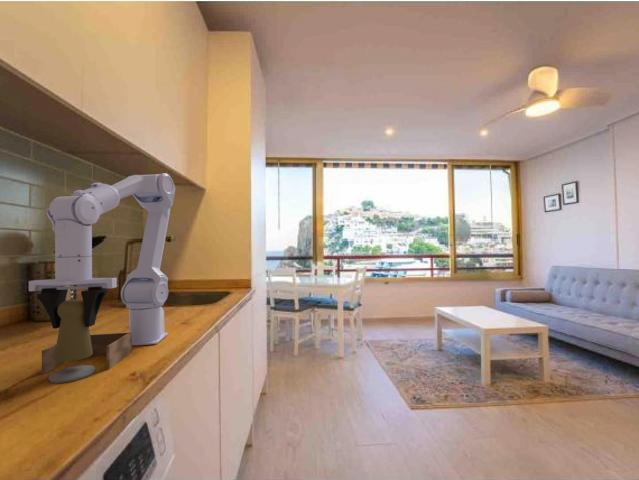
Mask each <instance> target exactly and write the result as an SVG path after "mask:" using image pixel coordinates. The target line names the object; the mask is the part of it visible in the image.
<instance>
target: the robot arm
mask: <svg viewBox="0 0 639 480" xmlns="http://www.w3.org/2000/svg"><path fill="white" fill-rule="evenodd" d="M174 183H175V182H174V181H173V179H172V177H171V175H170V174H169V173H166V172H165V173H163V172H162V173H157V174H156V173H155V174H152V173H151V174H133V175H128V176H127V177H126V178H124V179H122V180H120V181H118V182H116V183H114V184H112V185H110V184H107V183H102V182H94V183H91V184H90V186H91V187H89V188H86V189H84V190H83V189H77V190H73V194H71V195H70V196H67V195H66V196H64V195H63V196H58V197H55V198H53V200H52V201H51V202H50V204H49V206H48V208H46V209H45V213H46V216H47V218H48V220H49V221H50V222H51V225H52V228H51V229H52V231H53V233H54V241H55V242H54V259H55V261H54V263H55V264H54V272H55V273H54V279H37V280H28V292H37V291H40V293H37V294H36V299H38V300H39V301H40V303H41V304H42V306H43V307H44V309H45V311H46V313H47V314H48V317H49V321H50V323H51V326H52V329H59V327H60V322H61V318H60V317H59V315H58V313H57V309H58V306H59V304H60V303H62V302H64V301H67V300H66V298H67V295H68V291H69V290H81V291H80V295H81V297H82V299H83V302H84V309H85V327H89V328H91V327H92V326H94V325H95V323H96V320H97V315H98V312H99V310H100V308H101V304H102V303H103V301H104V299H105V297H106V295H107V294H108V292H109V289H114V288H117V287H118V286H117V282H118V281H117V277H93V245H92V244H93V242H92V241H93V226H92V225H93V224H96V223H97V222H98V220H99V219H100V216H101V215H103V214H105V213H107V212H110V211H112V210H113V209H115V208H117V207H118V206H119V204H120V201H121V200H122V199H124V198H127V197H129V196H132V197H134V199H135V201H137V203H138V204H139V206H140V207H141V208H142V209H145V210H146V211H147V213H148V214H147V216H146V217H147V218H146V223H145V227H144V233H143V237H142V242H141V246H140V252H139V258H138V262H137V268H135V269H134V270H133V271H131V272H130V273H128V274H127V275H126V280H125V282H124V284H123V286H121V290H120V299H121V301H122V303H123V304H125V305H126V308H127V309H128V325H129V326H128V333H131V332H132V346H144V345H149V346H150V345H157V344H159V342H161V341H162V340H163V339H164V338H165V337H166V336H168V335H169V332H165V311H164V308H163V307H162V306H163V305H164V304H165V302H166V301H167V300H168V296H169V286H168V284H169V282H168V281H169V278H168V276H167V275H166V274H165V273H163V272H162V271H161V267H162V266H161V264H162V259H163V254H164V248H165V242H166V238H167V233H168V232H167V231H168V226H169V220H170V214H171V208H172V207H173V205H174V199H175V194H176V186H175V184H174ZM75 285H76V286H75ZM78 285H79V286H78Z"/></svg>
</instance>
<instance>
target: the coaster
mask: <svg viewBox="0 0 639 480" xmlns="http://www.w3.org/2000/svg"><path fill="white" fill-rule="evenodd" d="M95 373H96V367H95V366H94V365H90V364H89V365H88V364H86V365H76V366H71V367H66V368H62V369H60V370H57V371H54V372H52V373H51V374H50V375H49V376H48V382H49V383H51V384H65V383H71V382H76V381H79V380H83V379H86V378H88V377H90V376H92V375H93V374H95Z"/></svg>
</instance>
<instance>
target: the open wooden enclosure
mask: <svg viewBox="0 0 639 480" xmlns="http://www.w3.org/2000/svg"><path fill="white" fill-rule="evenodd" d="M90 337H91V344H92V350H93V354H92V355H91V356H100V355H106V370H110V369H112V368H113V367H114V366H115V365H117V364H118V363H119V362H121V361H122V360H123V359H124V358H126V357H127V356H129V355H130V354H131V353H132V349H133V347H132V332H131V333H129V332H118V333H116V332H114V333H100V334H99V333H97V334H96V333H95V334H90ZM56 344H57V343H55V344H53V345H51V346H49V347H46V348H44V349H42V350H41V375H44V374H47V373H48V372H50V371H52V370H54V369H56V368H57V367H59V366H60V365H62V364H65V362H56V361H54V356H55V350H56Z"/></svg>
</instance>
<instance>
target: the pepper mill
mask: <svg viewBox="0 0 639 480" xmlns="http://www.w3.org/2000/svg"><path fill="white" fill-rule="evenodd" d="M57 313H58V315H59V317H60V318H61V322H60V327H59V328H58V334H57V340H56V343H55V344H56V350H55V356H54V361H56V362H64V363H66V362H67V363H68V362H74V361H75V362H76V361H78V360H79V361H81V360H83V359H87V358H89V357H91V356H93V355H92V354H93V350H92V344H91V337H90V335H91V332H90V331H91V330H90V327H85V309H84V302H83V298H82V299H81V298H78V299H75V298H74V299H68V300H65V301H64V302H62V303H60V304H59V306H58V309H57Z"/></svg>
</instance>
